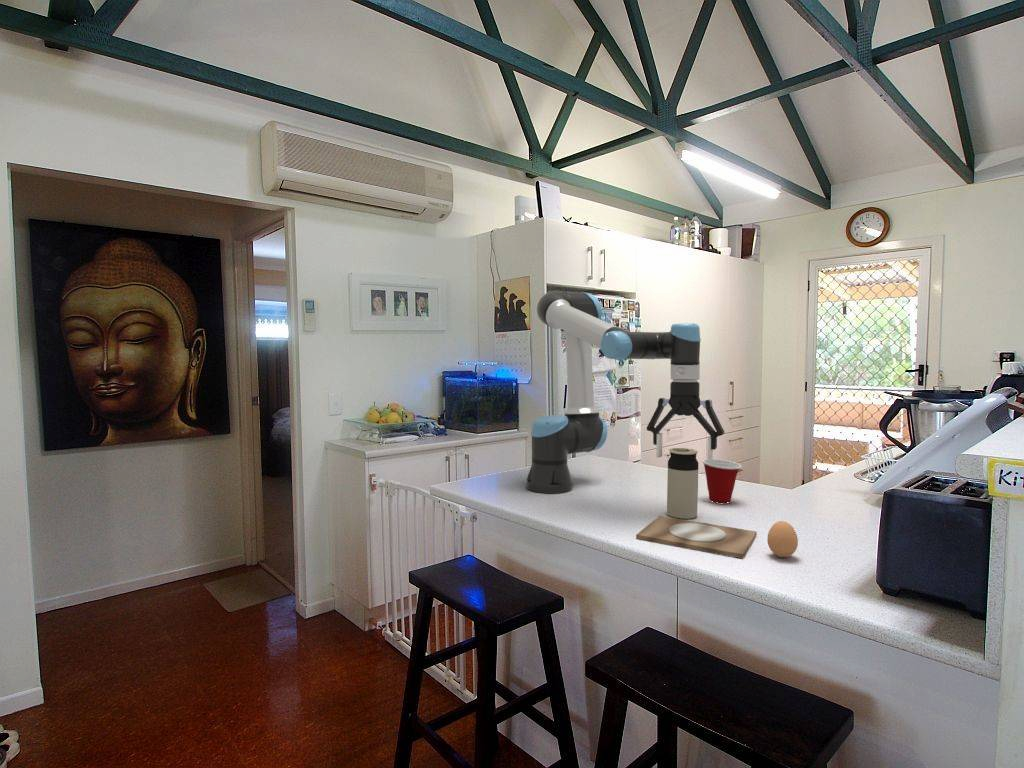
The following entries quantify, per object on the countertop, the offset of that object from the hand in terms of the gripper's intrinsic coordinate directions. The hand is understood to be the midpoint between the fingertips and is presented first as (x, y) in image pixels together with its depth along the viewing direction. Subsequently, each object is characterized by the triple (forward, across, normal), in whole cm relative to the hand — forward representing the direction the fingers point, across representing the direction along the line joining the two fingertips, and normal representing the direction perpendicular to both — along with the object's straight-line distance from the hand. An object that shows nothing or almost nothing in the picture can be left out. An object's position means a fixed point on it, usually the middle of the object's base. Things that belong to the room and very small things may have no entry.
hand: (684, 459), depth 152 cm
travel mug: (+16, 0, 0) cm, 16 cm away
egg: (+16, +26, -19) cm, 36 cm away
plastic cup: (+16, +6, +20) cm, 26 cm away
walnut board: (+16, +8, -16) cm, 24 cm away
